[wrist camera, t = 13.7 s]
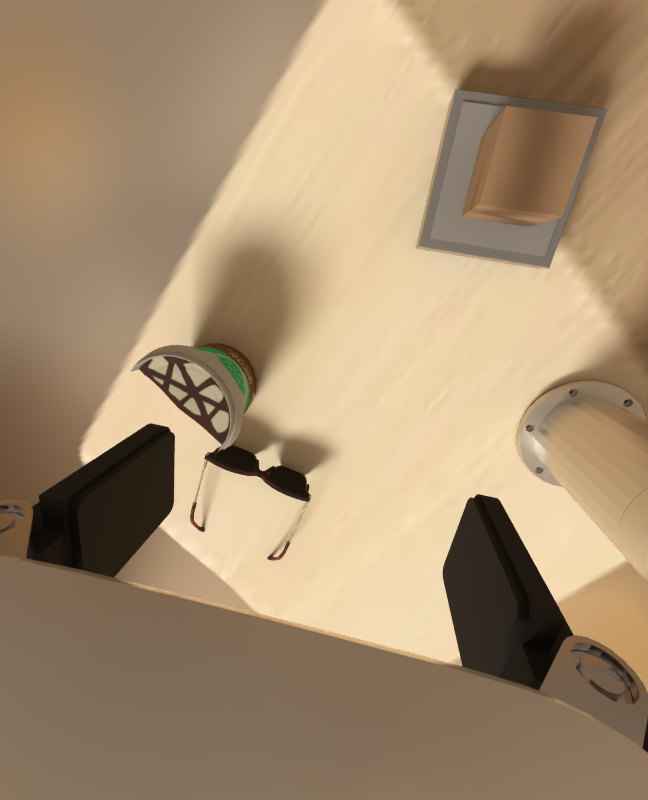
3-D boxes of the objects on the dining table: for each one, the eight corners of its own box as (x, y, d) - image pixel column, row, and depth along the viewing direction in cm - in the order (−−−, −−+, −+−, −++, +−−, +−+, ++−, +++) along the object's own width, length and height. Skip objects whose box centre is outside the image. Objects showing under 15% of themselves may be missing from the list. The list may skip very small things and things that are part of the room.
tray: (589, 121, 30) (608, 107, 28) (537, 268, 35) (550, 267, 32) (449, 103, 31) (456, 88, 29) (415, 248, 35) (418, 246, 33)
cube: (555, 147, 29) (597, 117, 24) (529, 227, 31) (562, 216, 26) (481, 138, 30) (506, 105, 24) (460, 216, 32) (479, 204, 26)
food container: (287, 385, 42) (262, 416, 33) (255, 417, 44) (223, 454, 35) (210, 310, 41) (161, 320, 31) (180, 346, 43) (126, 366, 33)
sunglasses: (317, 476, 46) (310, 500, 42) (281, 556, 53) (271, 584, 49) (221, 436, 46) (203, 456, 42) (197, 520, 53) (179, 546, 49)
